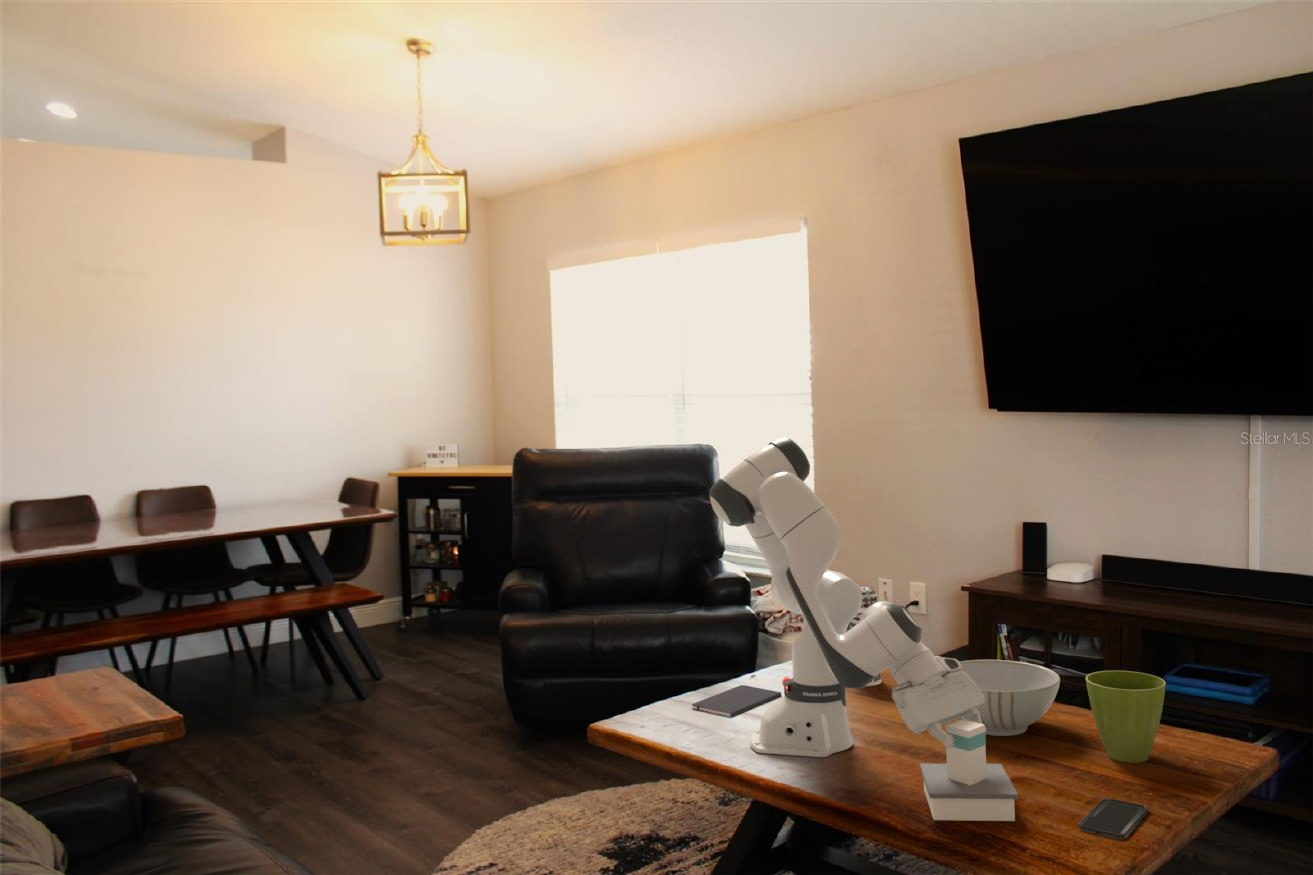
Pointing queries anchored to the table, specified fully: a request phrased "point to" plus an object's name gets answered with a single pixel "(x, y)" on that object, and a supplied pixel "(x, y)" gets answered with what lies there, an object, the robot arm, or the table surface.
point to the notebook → (736, 700)
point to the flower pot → (1126, 712)
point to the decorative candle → (867, 600)
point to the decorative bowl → (1011, 693)
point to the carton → (966, 752)
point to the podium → (969, 795)
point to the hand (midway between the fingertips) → (967, 739)
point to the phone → (1113, 818)
